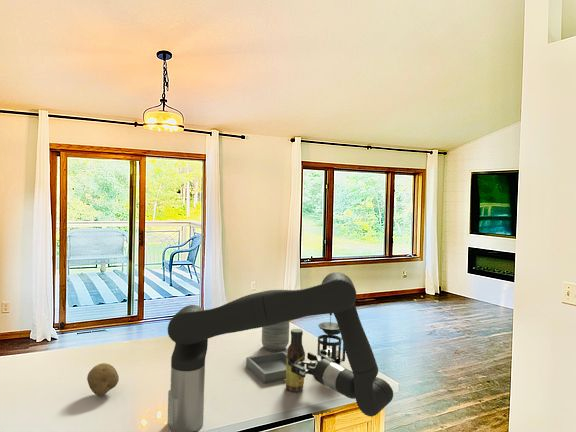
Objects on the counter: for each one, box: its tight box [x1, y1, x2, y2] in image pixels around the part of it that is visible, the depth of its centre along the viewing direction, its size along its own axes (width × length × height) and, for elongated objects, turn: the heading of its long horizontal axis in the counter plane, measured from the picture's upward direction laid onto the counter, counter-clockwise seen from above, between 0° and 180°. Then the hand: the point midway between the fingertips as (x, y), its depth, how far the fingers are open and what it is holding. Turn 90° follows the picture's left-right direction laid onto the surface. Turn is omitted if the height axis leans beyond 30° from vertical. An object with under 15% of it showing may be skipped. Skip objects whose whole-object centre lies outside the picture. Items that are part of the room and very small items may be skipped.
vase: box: [261, 321, 291, 353], centre depth 178 cm, size 12×12×23 cm
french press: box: [316, 313, 346, 365], centre depth 158 cm, size 12×9×23 cm
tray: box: [245, 350, 287, 385], centre depth 155 cm, size 16×16×4 cm
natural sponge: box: [86, 363, 119, 397], centre depth 132 cm, size 9×9×10 cm
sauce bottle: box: [285, 328, 306, 392], centre depth 142 cm, size 6×6×20 cm
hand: (298, 358), depth 140 cm, fingers open, 8 cm apart
